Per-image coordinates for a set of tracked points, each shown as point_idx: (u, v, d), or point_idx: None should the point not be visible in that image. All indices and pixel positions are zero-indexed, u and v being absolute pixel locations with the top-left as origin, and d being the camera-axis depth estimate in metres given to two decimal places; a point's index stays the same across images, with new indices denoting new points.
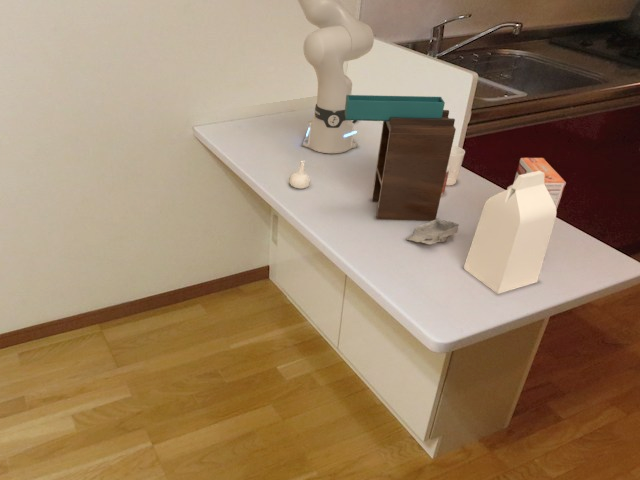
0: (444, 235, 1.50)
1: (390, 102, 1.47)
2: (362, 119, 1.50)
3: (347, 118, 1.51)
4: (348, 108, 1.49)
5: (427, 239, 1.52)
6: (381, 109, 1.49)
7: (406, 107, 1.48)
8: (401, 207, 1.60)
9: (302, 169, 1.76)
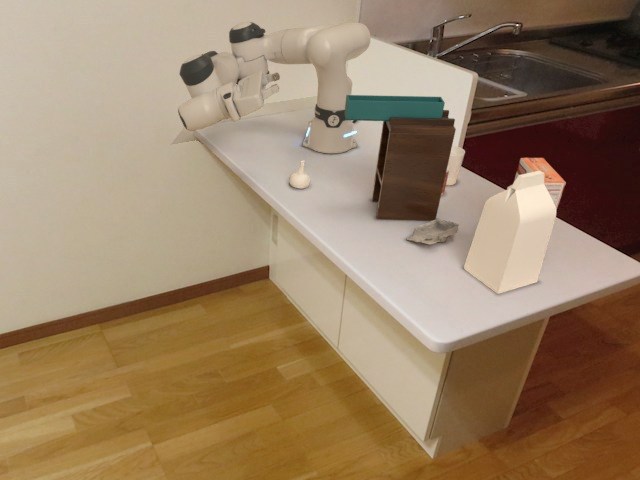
0: (444, 235, 1.50)
1: (390, 102, 1.47)
2: (362, 119, 1.50)
3: (347, 118, 1.51)
4: (348, 108, 1.49)
5: (427, 239, 1.52)
6: (381, 109, 1.49)
7: (406, 107, 1.48)
8: (401, 207, 1.60)
9: (302, 169, 1.76)
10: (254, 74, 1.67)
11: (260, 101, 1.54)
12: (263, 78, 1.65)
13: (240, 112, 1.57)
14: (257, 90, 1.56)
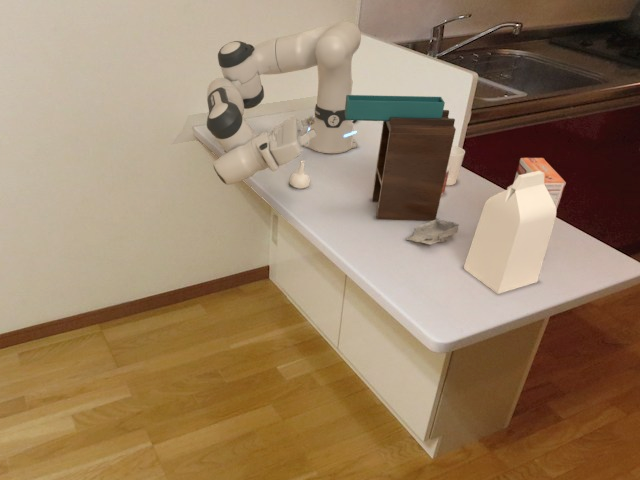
0: (444, 235, 1.50)
1: (390, 102, 1.47)
2: (362, 119, 1.50)
3: (347, 118, 1.51)
4: (348, 108, 1.49)
5: (427, 239, 1.52)
6: (381, 109, 1.49)
7: (406, 107, 1.48)
8: (401, 207, 1.60)
9: (302, 169, 1.76)
10: (288, 121, 1.63)
11: (298, 148, 1.49)
12: (298, 124, 1.61)
13: (278, 161, 1.52)
14: (294, 137, 1.51)
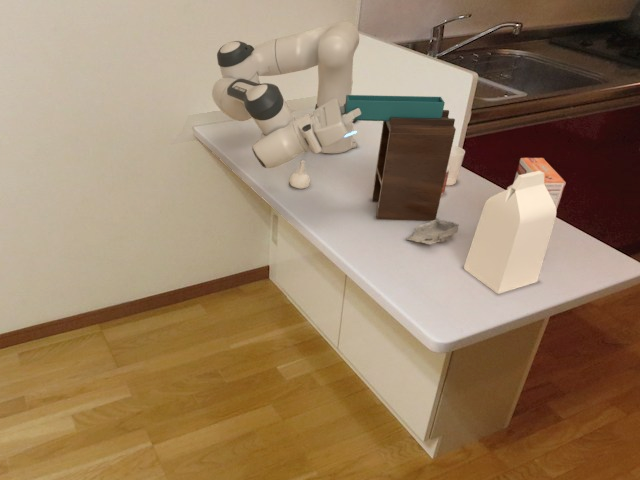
0: (444, 235, 1.50)
1: (390, 102, 1.47)
2: (362, 119, 1.50)
3: None
4: (348, 108, 1.49)
5: (427, 239, 1.52)
6: (381, 109, 1.49)
7: (406, 107, 1.48)
8: (401, 207, 1.60)
9: (302, 169, 1.76)
10: (329, 102, 1.59)
11: (344, 129, 1.45)
12: None
13: (322, 143, 1.48)
14: (339, 118, 1.47)
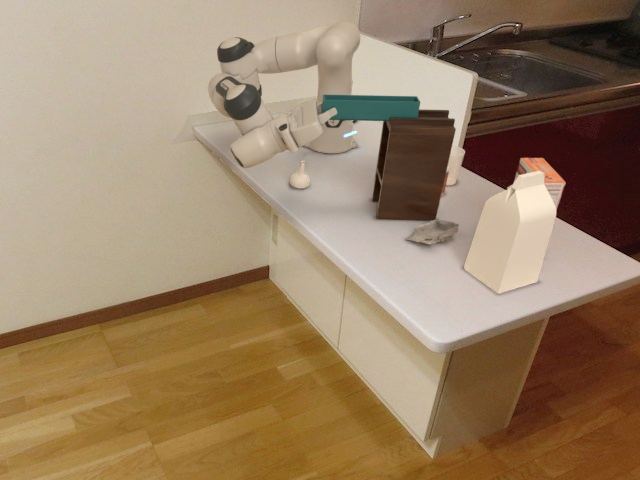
0: (444, 235, 1.50)
1: (366, 102, 1.48)
2: (338, 118, 1.51)
3: None
4: (324, 108, 1.49)
5: (427, 239, 1.52)
6: (357, 109, 1.49)
7: (382, 107, 1.48)
8: (401, 207, 1.60)
9: (302, 169, 1.76)
10: (307, 102, 1.59)
11: (319, 128, 1.45)
12: None
13: (299, 142, 1.48)
14: (315, 117, 1.47)
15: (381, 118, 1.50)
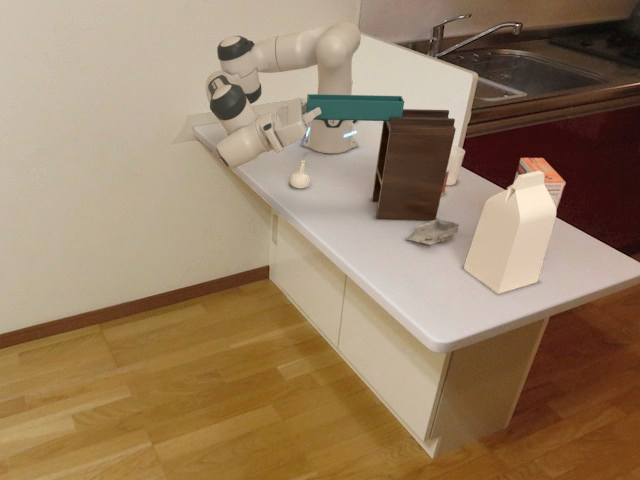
0: (444, 235, 1.50)
1: (350, 101, 1.48)
2: (323, 118, 1.51)
3: None
4: (308, 107, 1.50)
5: (427, 239, 1.52)
6: (341, 108, 1.49)
7: (366, 106, 1.49)
8: (401, 207, 1.60)
9: (302, 169, 1.76)
10: (292, 102, 1.59)
11: (303, 128, 1.45)
12: None
13: (283, 142, 1.48)
14: (299, 117, 1.47)
15: (365, 118, 1.50)
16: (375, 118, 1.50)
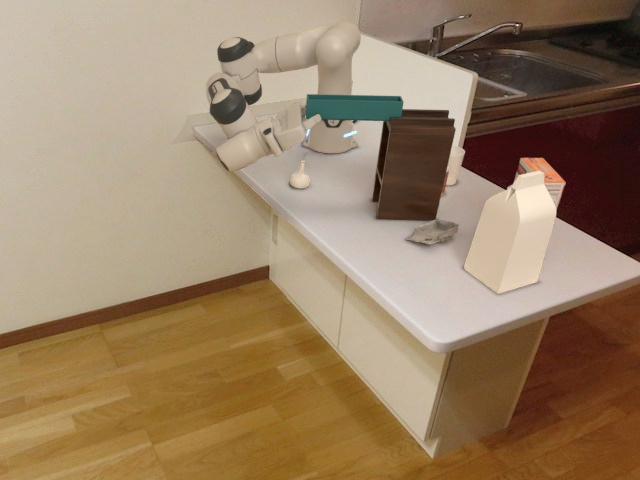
0: (444, 235, 1.50)
1: (349, 101, 1.48)
2: (322, 118, 1.51)
3: (307, 117, 1.51)
4: (308, 107, 1.50)
5: (427, 239, 1.52)
6: (341, 108, 1.49)
7: (365, 106, 1.49)
8: (401, 207, 1.60)
9: (302, 169, 1.76)
10: (292, 106, 1.60)
11: (303, 132, 1.46)
12: (302, 109, 1.57)
13: (283, 146, 1.49)
14: (298, 122, 1.48)
15: (365, 118, 1.50)
16: (374, 118, 1.50)
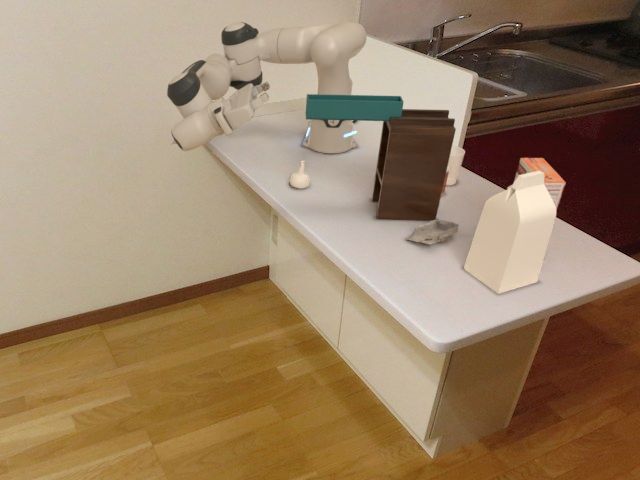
0: (444, 235, 1.50)
1: (349, 101, 1.48)
2: (322, 118, 1.51)
3: (307, 117, 1.51)
4: (308, 107, 1.50)
5: (427, 239, 1.52)
6: (341, 108, 1.49)
7: (365, 106, 1.49)
8: (401, 207, 1.60)
9: (302, 169, 1.76)
10: (244, 87, 1.66)
11: (250, 111, 1.52)
12: (253, 90, 1.63)
13: (232, 125, 1.55)
14: (246, 101, 1.54)
15: (365, 118, 1.50)
16: (374, 118, 1.50)
